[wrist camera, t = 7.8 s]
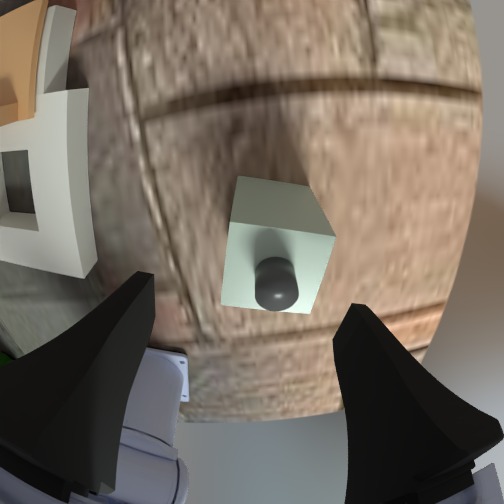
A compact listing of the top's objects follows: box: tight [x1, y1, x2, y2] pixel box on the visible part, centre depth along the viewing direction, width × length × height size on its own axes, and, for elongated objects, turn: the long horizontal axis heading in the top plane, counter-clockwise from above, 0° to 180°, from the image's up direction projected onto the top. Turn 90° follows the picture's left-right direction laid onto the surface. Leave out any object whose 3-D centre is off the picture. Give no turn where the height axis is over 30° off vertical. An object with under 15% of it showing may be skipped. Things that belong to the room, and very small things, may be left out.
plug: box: [221, 176, 336, 314], centre depth 15 cm, size 4×4×8 cm
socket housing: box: [0, 5, 98, 279], centre depth 14 cm, size 19×13×2 cm
